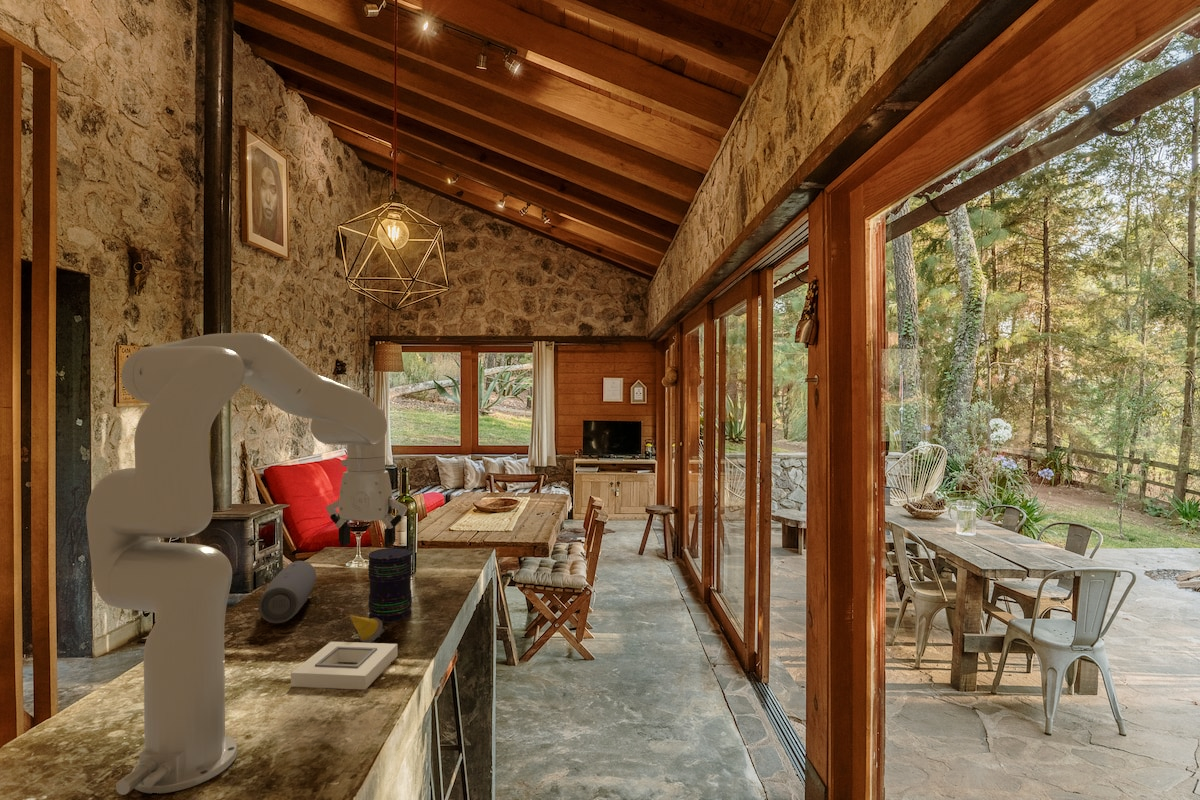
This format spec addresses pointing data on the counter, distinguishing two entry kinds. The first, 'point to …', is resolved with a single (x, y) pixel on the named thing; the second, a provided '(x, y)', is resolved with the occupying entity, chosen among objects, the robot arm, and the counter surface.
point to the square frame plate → (344, 665)
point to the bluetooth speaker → (287, 592)
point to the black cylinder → (390, 584)
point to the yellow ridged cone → (367, 628)
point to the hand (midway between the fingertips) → (367, 545)
